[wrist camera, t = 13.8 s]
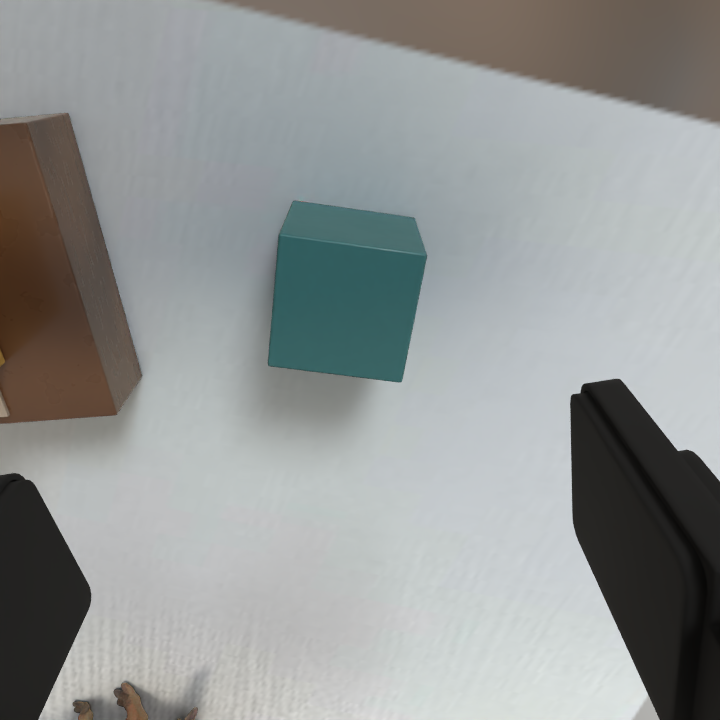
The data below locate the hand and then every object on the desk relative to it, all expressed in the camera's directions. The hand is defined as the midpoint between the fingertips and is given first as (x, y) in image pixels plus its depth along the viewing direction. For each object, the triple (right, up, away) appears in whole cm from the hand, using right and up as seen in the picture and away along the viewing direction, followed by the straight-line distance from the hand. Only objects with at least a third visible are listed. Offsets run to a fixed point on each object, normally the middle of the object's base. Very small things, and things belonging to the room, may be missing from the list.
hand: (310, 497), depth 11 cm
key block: (0, +6, +12) cm, 14 cm away
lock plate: (-12, +6, +12) cm, 18 cm away
